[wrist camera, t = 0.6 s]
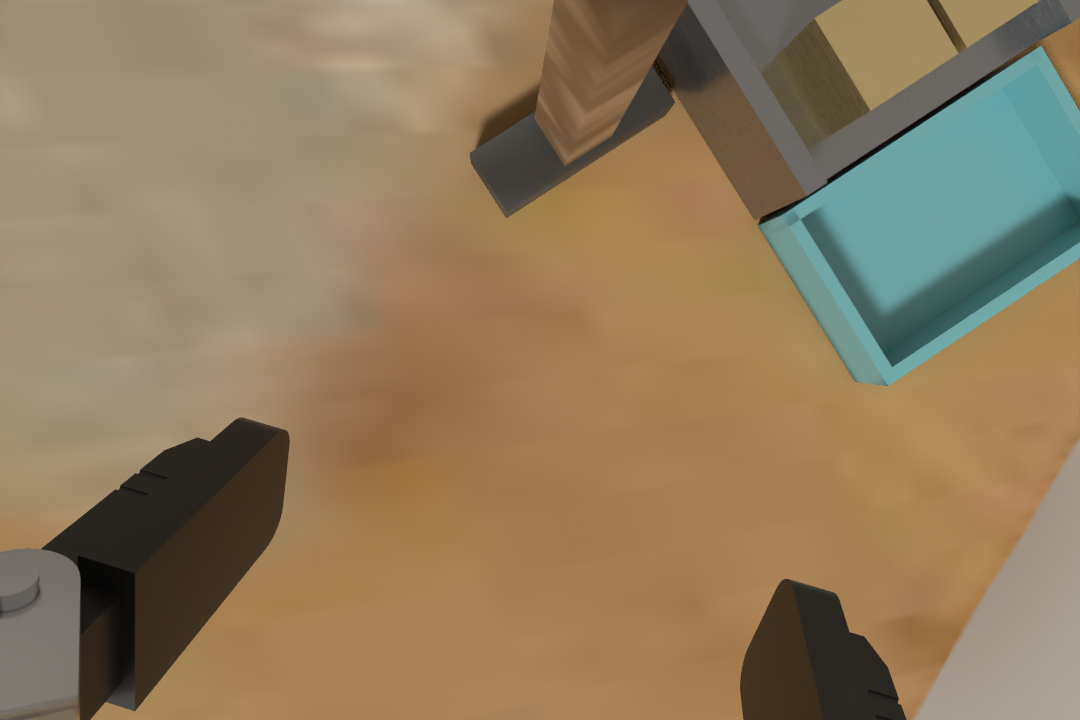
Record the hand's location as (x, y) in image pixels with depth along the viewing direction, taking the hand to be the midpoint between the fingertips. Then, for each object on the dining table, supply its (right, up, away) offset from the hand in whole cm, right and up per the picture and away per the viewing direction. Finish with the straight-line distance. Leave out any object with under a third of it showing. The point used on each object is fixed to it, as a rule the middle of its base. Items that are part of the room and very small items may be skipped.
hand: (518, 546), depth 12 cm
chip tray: (+19, +9, +24) cm, 32 cm away
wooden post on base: (+2, +13, +23) cm, 27 cm away
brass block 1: (+13, +15, +20) cm, 28 cm away
